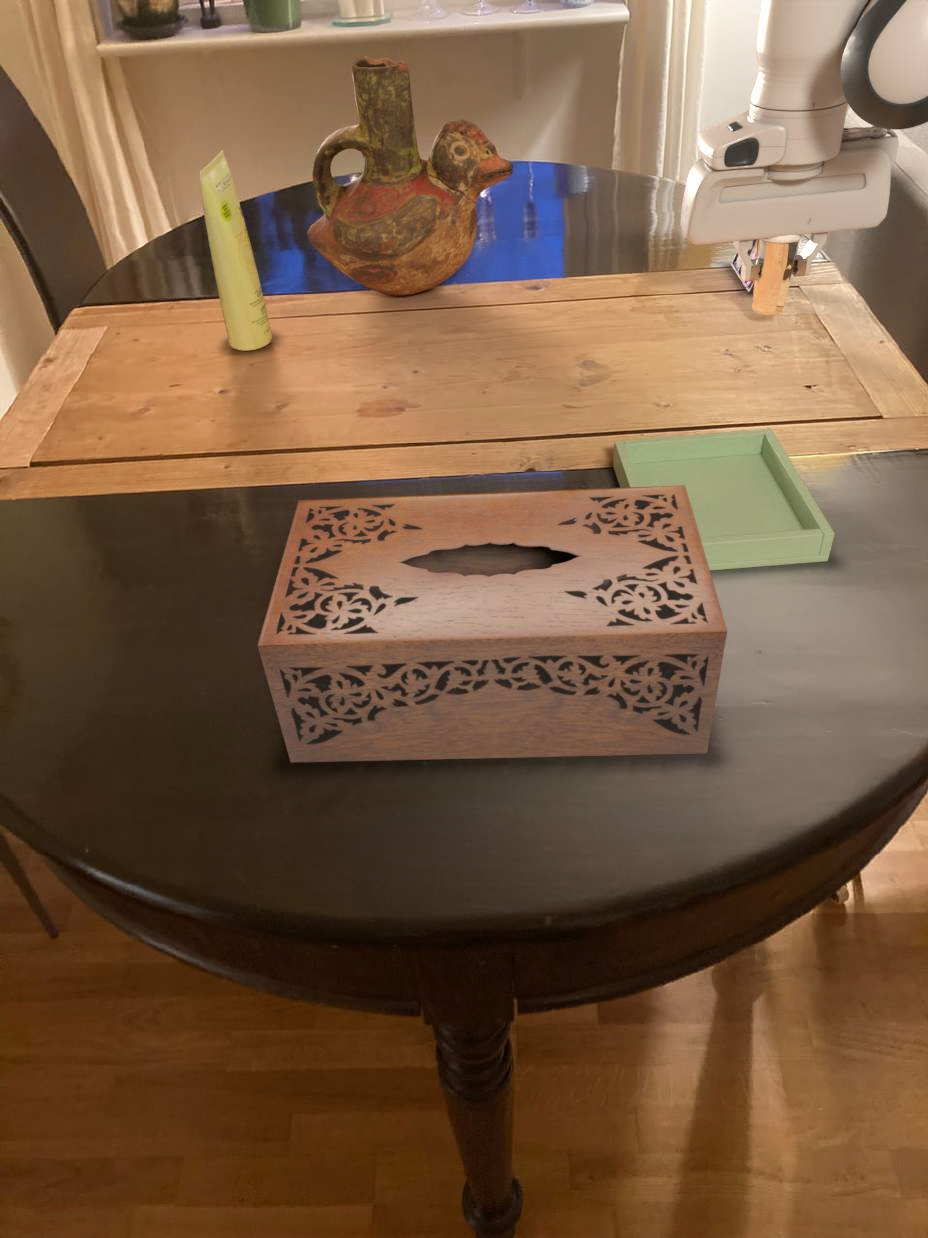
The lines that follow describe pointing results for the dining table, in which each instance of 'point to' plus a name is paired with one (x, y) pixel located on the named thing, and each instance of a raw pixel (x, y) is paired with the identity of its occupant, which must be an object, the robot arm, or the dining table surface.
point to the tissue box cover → (494, 627)
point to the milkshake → (774, 272)
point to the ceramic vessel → (400, 189)
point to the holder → (734, 495)
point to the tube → (233, 259)
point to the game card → (737, 266)
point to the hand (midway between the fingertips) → (774, 276)
